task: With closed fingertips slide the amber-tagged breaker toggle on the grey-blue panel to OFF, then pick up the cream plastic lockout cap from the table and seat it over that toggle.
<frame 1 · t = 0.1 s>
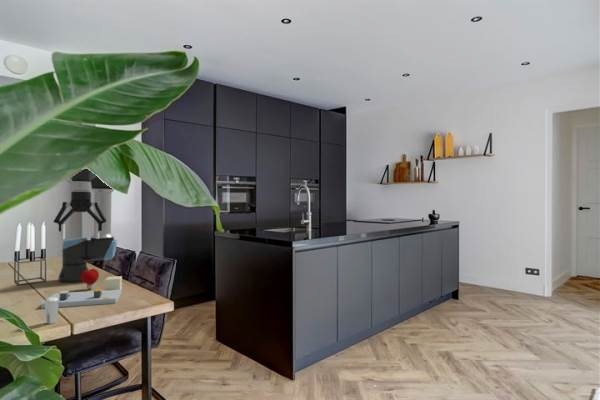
hand: (80, 238, 161), 28 cm above the table, fingers open, 13 cm apart
lockout cap: (113, 291, 178), on the table
breaker 2: (97, 293, 161), point 4 cm above the table, slide at 0.0 cm
breaker 1: (64, 295, 156), point 4 cm above the table, slide at 0.0 cm
panel: (84, 300, 162), on the table
light bulb: (89, 289, 182), on the table
milkshake: (52, 323, 133), on the table
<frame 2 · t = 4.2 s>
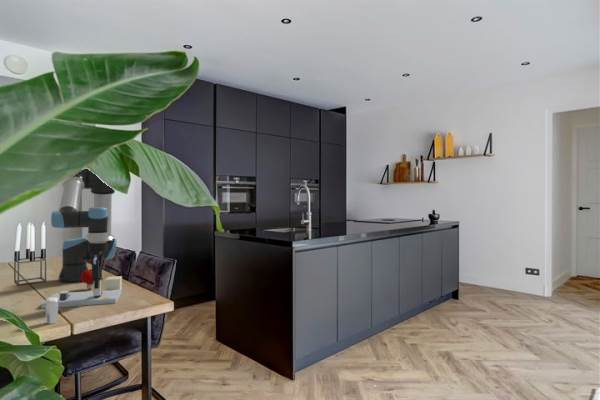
hand: (96, 295, 159), 3 cm above the table, fingers closed
breaker 2: (98, 292, 161), point 4 cm above the table, slide at 0.8 cm, touching gripper
everything else where it was.
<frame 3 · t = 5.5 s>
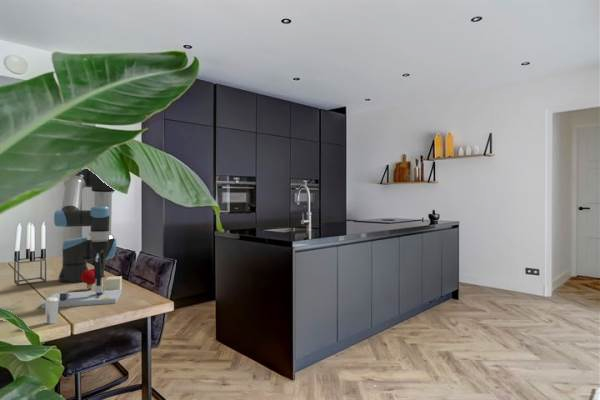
hand: (99, 292, 163), 3 cm above the table, fingers closed
breaker 2: (100, 290, 166), point 4 cm above the table, slide at 5.2 cm, touching gripper
everything else where it was.
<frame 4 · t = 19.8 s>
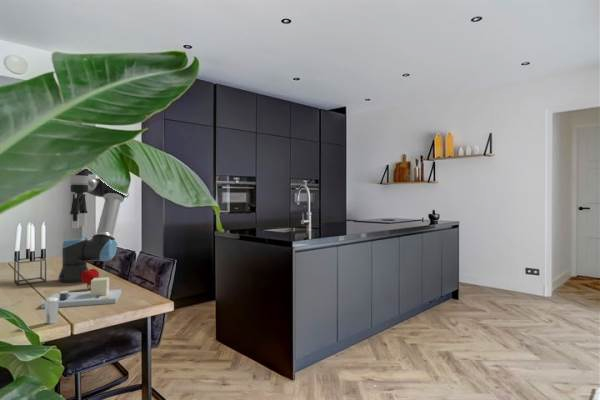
hand: (78, 227, 179), 32 cm above the table, fingers open, 13 cm apart
lockout cap: (100, 293, 166), point 2 cm above the table, touching panel
breaker 2: (100, 290, 166), point 4 cm above the table, slide at 5.2 cm
everything else where it was.
at the end: breaker 2 slide at 5.2 cm; lockout cap 0.4 cm off-centre on the breaker 2, point 0.0 cm above the breaker 2's base; lockout cap tilted 1° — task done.
